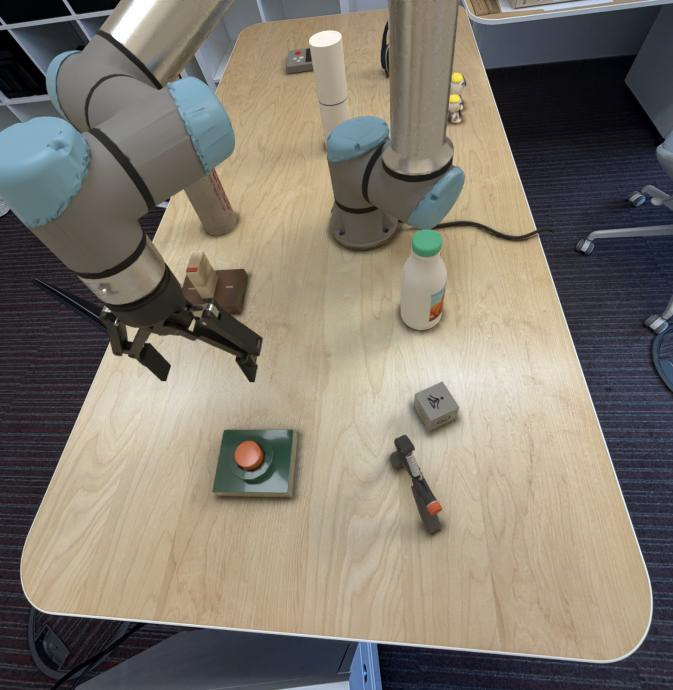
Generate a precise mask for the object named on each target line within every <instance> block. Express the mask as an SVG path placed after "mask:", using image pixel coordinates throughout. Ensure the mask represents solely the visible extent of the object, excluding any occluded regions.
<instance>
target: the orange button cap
mask: <svg viewBox="0 0 673 690" xmlns="http://www.w3.org/2000/svg"><path fill="white" fill-rule="evenodd" d="M263 458H264V453H263V450H262V449H261V448H260V447H259V445H258V444H257V443H255V442H253V441H246V442H243V443H241V444H240V445H239V446H238V447H237V449H236V451H235V460H236V462H237V464H238V465H240V466H241V467H242V468H243V469H245V470H253V469H256V468H257V467H259V466H260V464H261V463H262V461H263Z"/></svg>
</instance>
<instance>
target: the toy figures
mask: <svg viewBox="0 0 673 690" xmlns="http://www.w3.org/2000/svg"><path fill="white" fill-rule="evenodd" d="M465 87H467V80H466V78H465V75H464V74H461V73H460V72H453V73H452V80H451V89H450V99H449V109H448V118H449V120H450V123H452V124H460V123H461V122H462V117H463V114H462V110H463V109H464V103H465V102H464V99H463V97H462V95H461V94H462V93H463V91H464V88H465Z"/></svg>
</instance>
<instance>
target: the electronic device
mask: <svg viewBox="0 0 673 690" xmlns="http://www.w3.org/2000/svg"><path fill="white" fill-rule="evenodd" d="M286 70H287V74H288V75H290V74H297V73H305V72H311V71H314V70H313V64H312V57H311V51H310V47H305V48H298V49H292V50H291V49H290V50H288V51H287V60H286Z"/></svg>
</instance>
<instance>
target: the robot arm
mask: <svg viewBox="0 0 673 690" xmlns="http://www.w3.org/2000/svg"><path fill="white" fill-rule="evenodd" d="M235 1H236V0H120V1H119V2H118V4H117V5H116V7H115V8H114V9H113V10H112V12H111V13H110V15H109V16H108V17H107V19H105V21H104V23H103V24H102V25H101V26H100V28H99V29H98V30H97V32H96V33H95V34H94V36H93V37H92V38H91V40H90V41H89V42H88V43H87V44H86V45H85V47H84V48H83V49H82V50H67V51H64V52H62V53H60V54H58V55H56V56H55V57H54V58H53V59H52V60H51V62H50V63H49V65H48V67H47V70H46V75H45V85H46V91H47V94H48V97H49V100H50V101H51V104H52V105H53V107H54V108H55V109H56V111H57V112H58V113H59V114H60V115H61V116H62V117H63V118H64V119H63V118H60V117H55V116H36V117H33V118H31V119H29V120H28V121H26V122H16V123H13V124H12V125H10V126H8V127H6V128H4V129H3V130H2V131H0V199H1V200H2V202H3V203H4V204H6V207H8V208H9V209H10V210H11V211H12V213H13V214H14V215H15V216H16V217H17V218H18V219H19V221H21V223H22V224H23V225H24V226H25V227H26V228H27V229H28V230H29V231H30V232H31V233H32V234H33V235H34V236H36V238H37V239H39V241H41V243H43V244H44V246H45V247H47V248H48V249H49V251H51V252H52V254H54V255H55V256H56V257H57V258H58V259H59V261H61V262H62V263H63V265H65V266H66V268H68V269H69V270H70V271H71V272H72V273H73V274H74V275H75V276H76V277H77V278H78V279H79V280H80V281H81V282H82V283H83V284H84V285H85V286H86V287H87V288H88V290H90V291H91V292H92V293H93V294H94V295H95V297H96V298H97V299H99V300H100V301H101V302H102V304H103V305H104V306H103V308H102V310H101V312H100V314H99V317H98V319H99V321H100V322H101V323H102V324H103V325H104V327H106V331H107V335H108V339H109V344H110V349H111V353H112V354H113V355H114V356H116V357H122V356H123V355H127V357H128V358H130V359H135V360H136V361H137V362H138V363H139V364H140V365H142V366H143V367H145V368H147V369H148V370H149V371H150V372H151V373H152V374H153V375H154V376H155V377H156V378H157V379H158V380H159V381H160V382H167V380H168V377H169V374H170V371H171V367H172V365H171V363H170V362H169V361H168V360H167V359H166V358H165V357H164V356H163V355H162V354H161V353H160V352H159V350H157V349H156V347H155V346H153V345H152V343H151V342H147V341H148V340H149V338H150V336H151V335H152V334H154V335H157V336H159V337H166V336H177V337H182V338H185V339H187V340H189V341H192V342H196V341H201V342H203V343H206V344H208V345H209V346H212V347H215V348H217V349H219V350H221V351H223V352H226V353H228V354H230V355H232V356H234V357H235V359H234V360H235V363H236V364H237V365H238V367H239V368H240V370H241V371H242V373H243V375H244V376H245V378H246V379H247V381H248V382H249V383H256V378H257V374H258V367H259V365H258V363H257V360H258V357H260V356H261V351H262V347H263V341H264V338H263V336H262V335H260V334H259V333H257V332H255V331H254V330H253V329H252V328H250V327H248V326H247V325H246V324H245V323H243V322H241V321H240V320H239V319H238V318H236V317H235V316H233V315H232V314H229V313H227V312H226V311H225V310H223V309H222V308H221V306H220V305H219V304H218V302H217V301H216V300H215V299H213V298H207V299H206V302H205V304H202V305H194V304H192V303H191V302H189V301H188V300H187V299H186V298H185V297H184V294H183V291H182V285H181V283H180V281H179V280H178V278H177V277H176V276H175V274H174V273H173V271H172V269H171V268H170V266H169V265H168V264H167V262H166V261H165V259H164V257H163V256H162V254H161V252H160V251H159V250H158V248H157V247H156V245H155V244H154V243H153V242H152V240H151V239H150V237H149V236H148V234H147V233H146V231H145V230H144V228H143V227H142V226H141V224H140V221H139V219H140V218H142V217H143V216H145V215H146V214H148V213H150V212H151V211H153V210H154V209H156V207H157V206H159V205H161V204H162V203H164V202H166V201H167V200H168V199H170V198H172V197H174V196H175V195H177V194H178V193H180V192H182V191H184V189H185V188H186V187H188V186H190V185H191V184H193V183H194V182H196V181H198V180H199V179H201V178H202V177H204V176H206V175H209V174H210V172H211V170H213V169H214V168H215V169H216V167H218V166H219V165H220V164H222V163H223V162H224V161H226V160H227V159H228V158H230V157H231V156H232V155H233V153H234V151H235V148H236V135H235V129H234V128H233V124H232V122H231V119H230V116H229V113H228V112H227V110H226V108H225V107H224V105H223V103H222V102H221V100H220V99H219V97H218V96H217V95H216V94H215V92H214V91H213V90H212V89H211V87H209V85H207V84H206V83H205V82H204V81H202V80H201V79H199V78H198V77H194V76H191V75H189V76H185V77H182V78H180V79H178V77H179V76H180V74H181V73H182V71H184V69H185V68H186V67H187V65H188V64H189V63H190V61H191V60H192V58H193V57H194V56H195V54H196V53H197V52H198V50H199V49H200V48H201V47H202V45H203V44H204V43H205V42H206V40H207V39H208V37H209V36H210V35H211V33H212V32H213V31H214V29H215V28H216V27H217V25H218V24H219V23H220V21H222V18H224V16H225V15H226V14H227V12H228V11H229V10H230V8H231V7H232V6H233V4H235ZM459 10H460V0H387V21H388V32H387V36H388V43H389V75H388V77H389V78H388V79H389V80H388V81H389V82H388V83H389V84H388V85H389V125H388V123H387V121H386V120H385V119H383V118H381V117H379V116H373V115H363V116H357V117H352V118H350V119H349V120H347V121H345V122H343V123H341V124H339V125H338V126H336V127H335V128H334V129H333V130H332V131H331V132H330V134H329V135H328V137H327V142H326V144H325V148H326V147H327V149H326V161H327V165H328V171H329V176H330V181H331V187H332V193H333V199H334V202H333V206H332V208H331V210H330V214H331V216H330V218H329V219H330V221H329V225H330V231H331V235H332V237H333V239H334V240H335V241H336V242H337V244H339V245H340V246H342V247H344V248H346V249H350V250H353V251H369V250H370V251H371V250H374V249H378V248H381V247H383V246H384V245H386V244H387V243H389V242H390V241H391V240H392V239H393V238H394V237H395V236H396V234H397V232H398V229H399V224H404V225H406V226H408V227H409V226H411V227H413V228H415V229H418V230H419V231H420V230H424V229H431V230H433V229H435V228H436V229H437V228H444V227H450V226H458V225H459V226H460V225H469V226H474V227H478V228H481V229H484V230H485V231H488V232H489V233H491V234H493V235H495V236H498V237H501V238H504V239H506V240H507V239H508V240H517V241H518V240H523V239H527V238H530V237H532V236H535V235H537V234H540V233H541V232H550V233H552V234H553V233H555V232H556V230H555V229H554V228H553V227H550V226H545V227H540V228H537V229H535V230H533V231H531V232H528V233H526V234H522V235H509V234H505V233H502V232H500V231H497V230H495V229H493V228H491V227H489V226H487V225H485V224H482V223H479V222H475V221H468V220H458V221H450V222H444V223H441V222H442V221H443V220H444V219H445V218H446V217H447V216H448V215H449V213H450V212H451V210H452V208H453V207H454V206H455V205H456V202H457V201H458V199H459V198H460V195H461V193H462V190H463V188H464V185H465V181H466V173H465V171H464V170H463V169H462V168H461V167H460V166H458V165H457V166H455V165H454V164H453V162H454V155H455V146H454V143H453V141H452V140H451V138H450V137H449V136H448V135H447V127H448V118H449V112H448V109H449V99H450V95H451V93H450V89H451V80H452V74H453V71H454V70H453V69H454V67H453V66H454V59H455V49H456V39H457V31H458V29H457V28H458V21H459ZM176 79H178V80H176ZM389 127H390V128H389ZM193 321H194V325H193V328H192V330H191V329H190V328H191V325H192V323H193ZM127 327H130V328H135V329H138V330H137V331H136V334H135V335H134V337H133V340H132V341H130V340H129V336H128V330H127Z"/></svg>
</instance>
